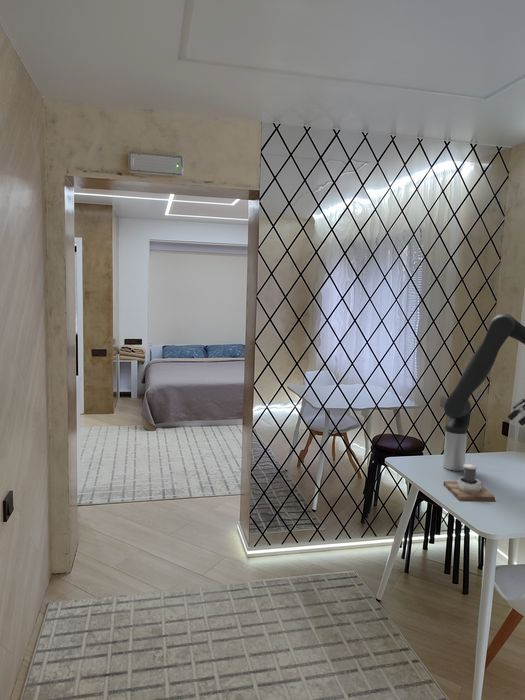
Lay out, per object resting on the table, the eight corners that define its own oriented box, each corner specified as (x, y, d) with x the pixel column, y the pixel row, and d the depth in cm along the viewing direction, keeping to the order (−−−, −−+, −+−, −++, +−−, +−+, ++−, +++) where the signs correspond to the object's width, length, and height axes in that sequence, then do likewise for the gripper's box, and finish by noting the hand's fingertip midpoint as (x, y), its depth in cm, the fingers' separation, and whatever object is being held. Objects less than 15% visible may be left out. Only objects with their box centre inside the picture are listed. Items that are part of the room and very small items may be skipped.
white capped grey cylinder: (459, 486, 204) (461, 463, 203) (472, 486, 204) (473, 463, 203) (465, 491, 199) (466, 467, 198) (477, 491, 199) (479, 468, 198)
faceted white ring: (453, 484, 205) (454, 476, 205) (474, 485, 206) (474, 476, 205) (462, 492, 197) (462, 484, 197) (483, 493, 197) (484, 484, 197)
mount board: (443, 484, 209) (443, 481, 209) (476, 485, 209) (476, 481, 209) (458, 500, 193) (459, 496, 193) (494, 500, 194) (495, 497, 193)
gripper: (529, 384, 208) (500, 410, 209) (549, 390, 194) (517, 418, 195) (540, 397, 209) (511, 423, 210) (561, 404, 195) (530, 432, 196)
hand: (514, 421), depth 203 cm, fingers open, 8 cm apart
